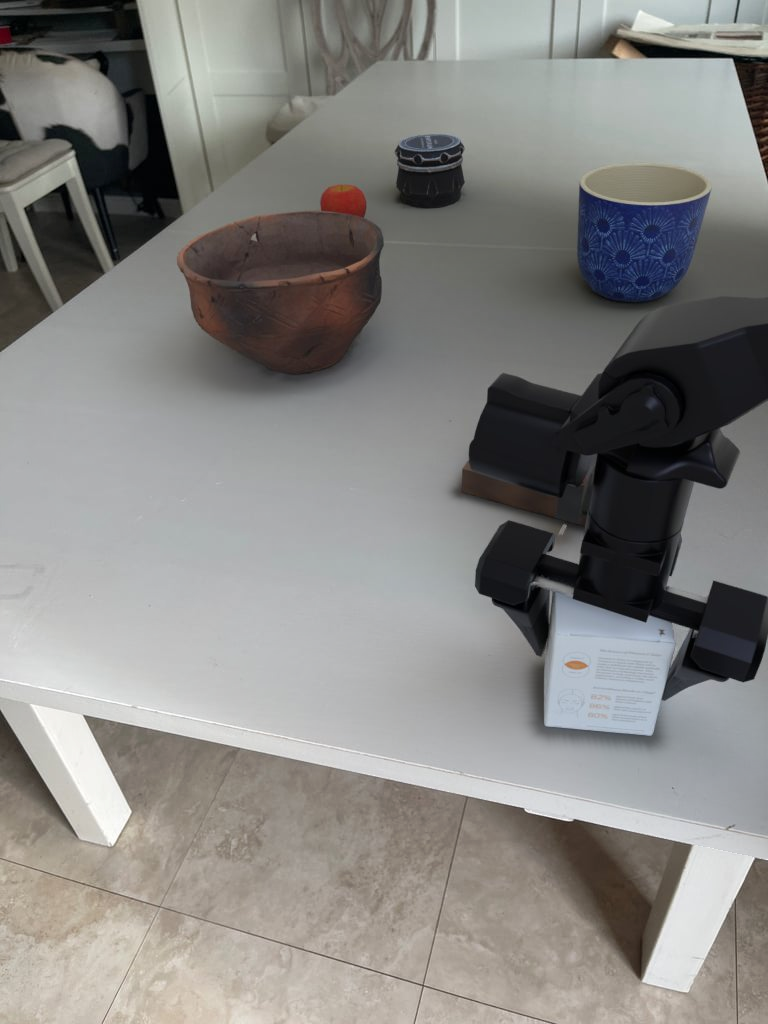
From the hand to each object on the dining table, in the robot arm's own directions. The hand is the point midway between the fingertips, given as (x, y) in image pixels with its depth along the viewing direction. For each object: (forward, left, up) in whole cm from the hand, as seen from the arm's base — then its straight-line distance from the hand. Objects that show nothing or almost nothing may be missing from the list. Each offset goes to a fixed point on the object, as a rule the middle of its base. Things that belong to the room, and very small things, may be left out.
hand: (600, 673), depth 60 cm
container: (+61, -99, -4) cm, 116 cm away
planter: (+17, -73, -4) cm, 75 cm away
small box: (0, 0, -4) cm, 4 cm away
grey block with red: (+8, -21, 0) cm, 22 cm away
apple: (+68, -79, -4) cm, 104 cm away
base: (+10, -23, -3) cm, 26 cm away
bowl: (+52, -38, -4) cm, 64 cm away
